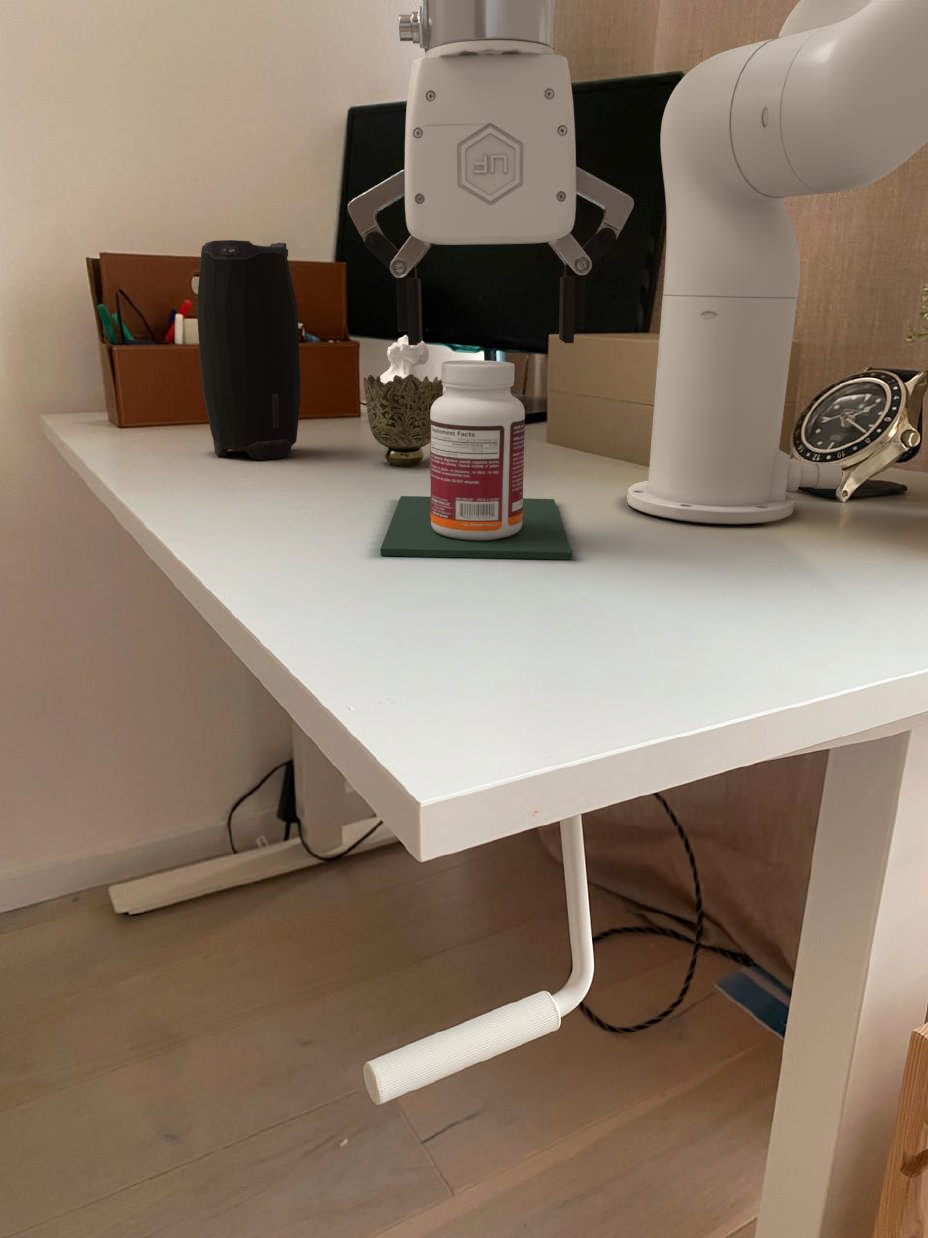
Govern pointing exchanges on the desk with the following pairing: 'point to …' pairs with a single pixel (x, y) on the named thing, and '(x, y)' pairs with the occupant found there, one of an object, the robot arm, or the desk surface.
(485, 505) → the pill bottle
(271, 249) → the portable speaker
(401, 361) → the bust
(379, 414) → the cup
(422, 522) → the desk mat
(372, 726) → the desk surface
